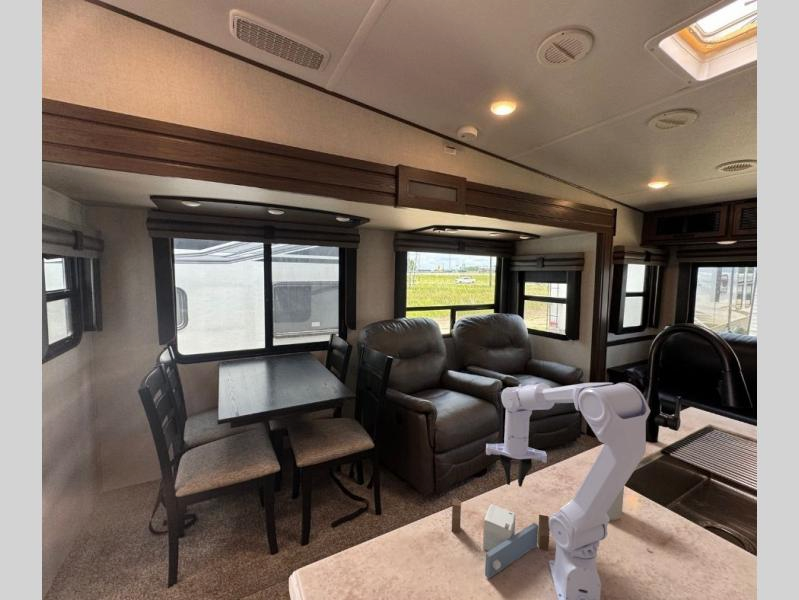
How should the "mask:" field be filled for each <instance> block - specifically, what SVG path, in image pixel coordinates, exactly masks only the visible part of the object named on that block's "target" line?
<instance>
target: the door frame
mask: <svg viewBox="0 0 799 600" xmlns="http://www.w3.org/2000/svg"><path fill="white" fill-rule="evenodd" d="M451 508H452V510H451V512H452V513H451V532H453V533H457V534H460V533H461V532H460V531H461V521H462V520H461V517H462V516H461V515H462V512H461V511H462V500H460V499H454V498H453V499H452V506H451ZM549 517H550V516H548V515H544V514H539V515H538V524H537V525H538V537H537V546H538V549H539V550H542V551H545V552H549V545H550V534H551V532H550V529H549Z"/></svg>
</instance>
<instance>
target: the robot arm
mask: <svg viewBox="0 0 799 600" xmlns="http://www.w3.org/2000/svg"><path fill="white" fill-rule="evenodd" d="M500 398H501V403H502V405H503V408H504V409H505V416H504V417H505V419H504V438H503V440H504V442H503V443H486V444H485V446H486V447H485V455H487V456H491V455H497V456H499V459H500V462H501V465H502V468H503V470H504V473H505V476H506V477H505V478H506V479H505V480H506V485H507V486H510V485H511V470H512V469H511V467H512V461H511V458H512V459H515V460H516V459H517V460H518V461H519V462H518V473H517V483H518V487H520V488H521V487H523V485H524V484H523V483H524V480H525V479H526V476H527V474H528V473H529V471H530V470H531V469H532V467H533V462H532V460H533V461H540V462H542V463H544V464H545V463H547V462H548V461H547V458H548V455H547V453H546V451H545V450H539V449H535V448H532V447H529V436H530V435H529V431H530V417H531V415H533V414H532V413H533V411H536V410H538V411H541V410H542V411H543V410H551V409H552V408H553V407H554V406H555V404H573V403H574V408H575V410H576V411H580V412H581V415H582V416H583V418H584V420H585V421H586V422H587V424H588V425H589V427H590V428H591V430H592V432H593V433H594V435H595V436H596V437H597V439H598V441H599V442H600V443H601V444H603V446H602V447H601V449H600V451H599V453H598V454H597V456H596V458H595V460H594V462H593V463H592V465H591V467H590V469H588V472H587V474H586V475H585V477H584V480H583V481H582V483H581V485H580V486H579V488H578V490H577V491H576V493H575V495H574V497H573V498H572V499H571V500H570V501H569V502H567V503H566V504H565V505H563V506H562V507H560V509H559V510H558V512H555V513H552V514H550V516H548V517H549V529H550V535H551V537H552V539H553V540H554V542H555V554H554V555H555V556H554V557H555V558H554V560H552V559H549V560H548V564H549V569H550V574H551V577H552V581H553V586H554V589H555V592H556V594H555V595H556V597H557V600H601V594H602V593H601V591H602V581H601V578H600V575H599V572H598V567H597V556H598V555H597V554H598V547H600V541H603V540H605V539H606V538H607V536H608V524H609V523H610V521H611V520H610V518H609V517H608V515H607V511H608V510H609V508H610V507H611V505H612V504H613V502H614V501H615V499H616V498H617V496H618V494H619V493H620V491H621V490H622V488H623V487H624V488H625V485H626V484H627V482H628V481H629V479H630V478H631V476H632V475H633V474H634V471H635V470H636V469H637V467H638V466H639V464H640V462H641V461H642V459H643V458H644V456H645V453H646V449H647V446H646V445H647V444H646V443H647V441H646V439H647V437H646V434H647V433H646V432H647V431H646V423H647V422H646V421H647V419H648V417H649V415H650V413H651V409H650V407H649V404H648V402H647V401H646V398H645V397H644V394H643V393H642V392H641V390H639V389H638V387H636V385H633V384H632V383H628V382H618V383H616V384H615V383H614V382H583V383H577V384H571V385H564V386H558V387H557V386H556V387H551V386H550V385H548V384H547V383H541V381H540V380H537V381H531V384H528V385H527V384H525V383H521V384H520V383H519V384H518V386H513V387H506V388H504V389H503V390H502V391H501V396H500Z"/></svg>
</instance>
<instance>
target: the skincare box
mask: <svg viewBox="0 0 799 600" xmlns="http://www.w3.org/2000/svg"><path fill="white" fill-rule="evenodd" d="M486 511H487V512H486V513H485V514H486V515H485V517H484V520H483V537H482V538H483V539H482V548H483V549H484V550H486V551H487V552H488V551H490V550H492V549H493V548H495V547H496V546H498V545H499V544H501V543H503V542H504V541H506V540H507V539H509V538H511V537H512V536H514V535H515V534H516V532H515V531H516V513H515V512H512V511H511V510H507V509H505V508H503V507H500V506H497V505H495V504H492V503H491V504H489V506H488V509H487V510H486Z"/></svg>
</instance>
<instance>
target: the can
mask: <svg viewBox="0 0 799 600" xmlns="http://www.w3.org/2000/svg"><path fill="white" fill-rule="evenodd" d="M624 490H625V486H624V487H623V488H622V490H621V491H620V493H619V494H618V496H617V498H616V499H615V501H614V502H613V504H612V505H611V507H610V508H609V510H608V511H607V515H608V517H609V518H610V521H616V520H619V519H621V518H622V516H623V508H624V507H623V505H624V493H625V491H624Z"/></svg>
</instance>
